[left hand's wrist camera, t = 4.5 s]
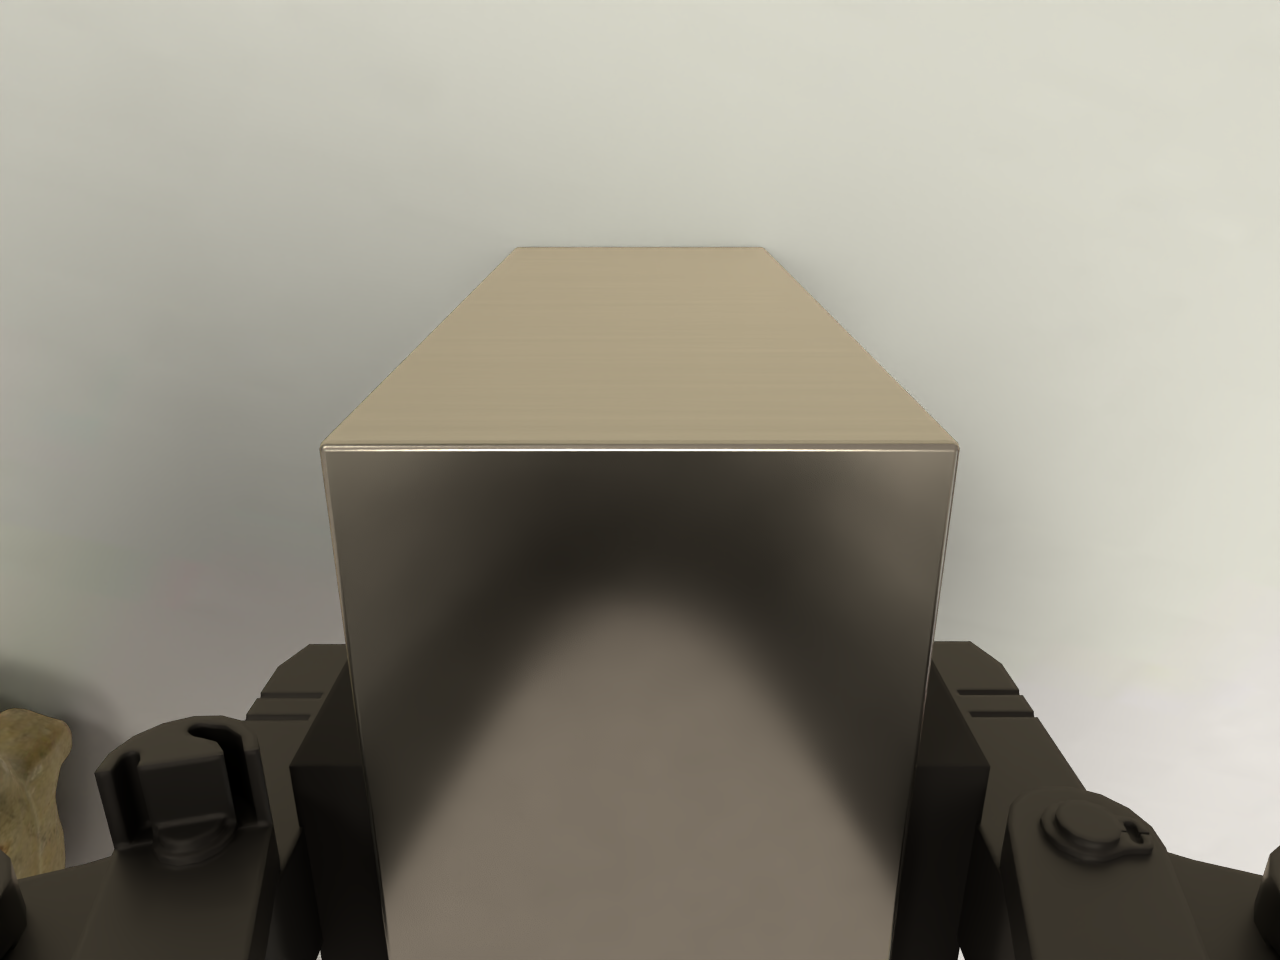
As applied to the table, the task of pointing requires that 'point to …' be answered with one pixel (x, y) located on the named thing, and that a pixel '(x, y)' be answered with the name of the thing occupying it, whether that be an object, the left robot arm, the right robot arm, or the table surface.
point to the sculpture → (31, 790)
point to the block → (639, 615)
